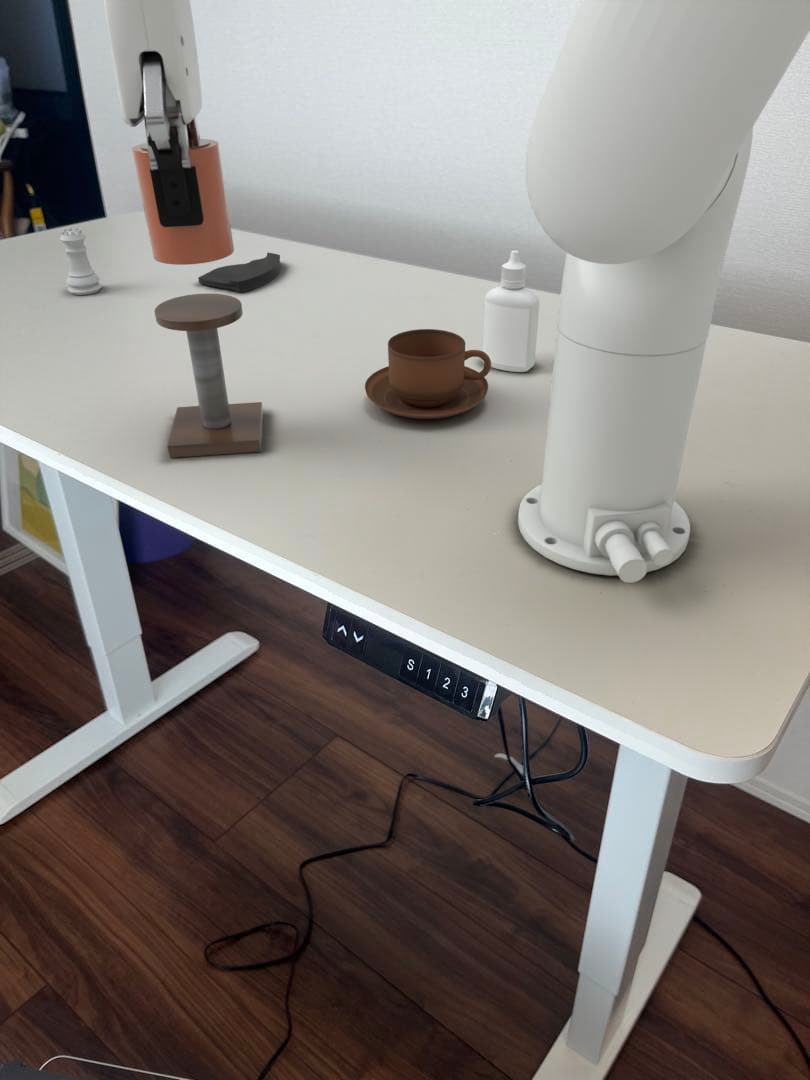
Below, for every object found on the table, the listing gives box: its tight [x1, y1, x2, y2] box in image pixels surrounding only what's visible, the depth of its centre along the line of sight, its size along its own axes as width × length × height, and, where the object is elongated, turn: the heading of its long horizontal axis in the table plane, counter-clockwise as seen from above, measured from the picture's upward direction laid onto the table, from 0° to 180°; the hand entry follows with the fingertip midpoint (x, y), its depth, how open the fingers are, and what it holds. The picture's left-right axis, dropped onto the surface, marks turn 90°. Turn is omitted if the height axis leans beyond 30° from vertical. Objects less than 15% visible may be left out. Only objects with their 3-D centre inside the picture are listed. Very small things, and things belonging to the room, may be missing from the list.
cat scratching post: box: [154, 293, 264, 459], centre depth 72 cm, size 8×8×12 cm
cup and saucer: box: [364, 328, 492, 420], centre depth 79 cm, size 12×12×6 cm
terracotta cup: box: [131, 138, 235, 266], centre depth 64 cm, size 6×6×8 cm
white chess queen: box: [59, 227, 103, 296], centre depth 109 cm, size 4×4×8 cm
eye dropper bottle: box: [481, 250, 540, 373], centre depth 85 cm, size 4×6×12 cm
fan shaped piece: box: [197, 252, 282, 293], centre depth 115 cm, size 8×14×2 cm, turn 147°
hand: (187, 212), depth 64 cm, fingers closed on terracotta cup, 6 cm apart
